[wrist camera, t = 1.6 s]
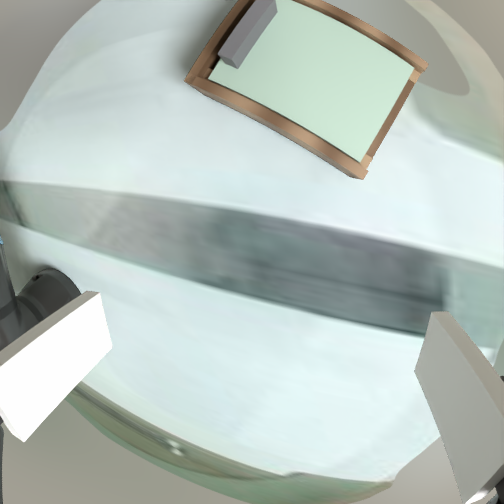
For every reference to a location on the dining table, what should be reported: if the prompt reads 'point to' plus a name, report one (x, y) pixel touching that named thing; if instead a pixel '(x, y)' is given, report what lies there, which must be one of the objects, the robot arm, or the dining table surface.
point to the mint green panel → (313, 72)
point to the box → (281, 124)
